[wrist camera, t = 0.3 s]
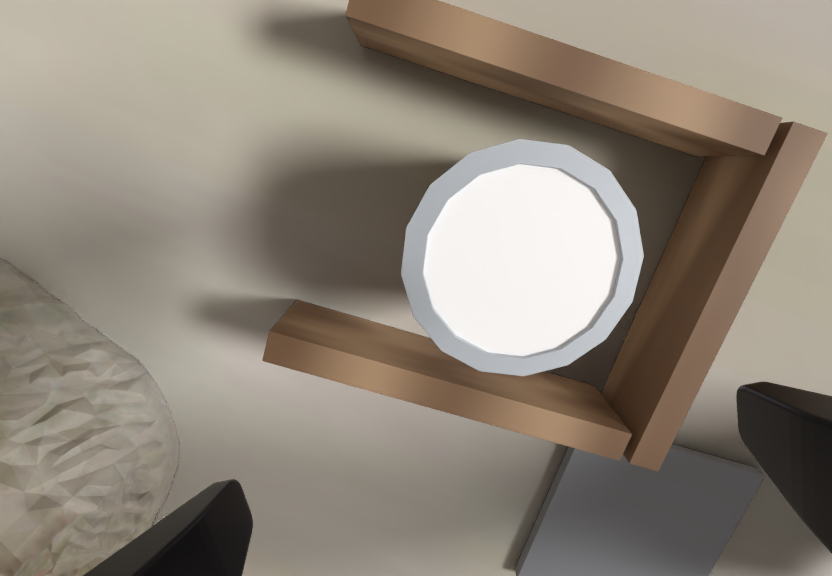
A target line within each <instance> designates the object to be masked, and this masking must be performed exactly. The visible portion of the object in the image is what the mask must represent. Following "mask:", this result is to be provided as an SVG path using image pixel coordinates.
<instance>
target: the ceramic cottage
mask: <svg viewBox="0 0 832 576" xmlns="http://www.w3.org/2000/svg"><path fill="white" fill-rule="evenodd" d="M179 452H180V443H179V439H178V435H177V431H176V428H175V425H174V422H173V418H172V415H171V412H170V410H169V407H168V405H167V402H166V401H165V400H164V397H163V394H162V392H161V391H160V389H159V387H158V385H157V384H156V382H155V381H154V379H153V378H152V376H151V375H150V374H149V372H148V371H147V369H145V368H144V367H143V366H141V365H140V364H138V360H137V359H136V358H135V357H133V356H132V355H130V354H129V353H127V352H126V351H124V350H122V348H120V347H119V346H118V345H117V344H115V343H114V342H113V341H111V340H110V339H108V338H107V337H106V336H104V335H101V334H100V333H98V332H97V329H96V328H94V327H92V326H90V325H89V324H87V323H86V322H85V321H83V320H82V319H81V318H80V317H79V316H78V315H77V314H76V313H75V312H74V311H73V310H72V309H70V308H69V307H68V306H67V305H66V304H65V303H63V302H61V301H59V300H58V299H56V298H54V297H52V296H51V295H50V294H49V293H48V292H46V291H45V290H44V289H43V288H42V287H40V286H39V285H38V284H37V283H36V282H34V281H33V280H31V279H30V278H28V277H27V276H25V275H24V274H22V273H21V272H20V271H18V270H17V269H16V268H15V267H13V266H12V265H11V264H10V263H8V262H7V261H5V260H3V259H1V258H0V576H83V575H84V574H85V573H87V572H88V571H90V570H91V569H93V568H94V567H95V566H97V565H98V564H100V563H101V562H103V561H104V560H105V559H107V558H108V557H110V556H111V555H112V554H114V553H115V552H117V551H118V550H120V549H121V548H122V547H124V546H125V545H127V544H128V543H129V542H131V541H132V540H134V539H135V538H137V537H138V536H139V535H141V534H142V533H144V532H145V531H146V530H148V529H149V528H150V527H152V526H153V524H152V523H153V521H154V518H155V516H156V514H157V512H158V511H159V509H160V508H161V506H162V505H163V503H164V502H165V500H166V498H167V496H168V494H169V491H170V488H171V485H172V483H173V478H174V472H175V471H176V470H177V468H178V464H179Z"/></svg>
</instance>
